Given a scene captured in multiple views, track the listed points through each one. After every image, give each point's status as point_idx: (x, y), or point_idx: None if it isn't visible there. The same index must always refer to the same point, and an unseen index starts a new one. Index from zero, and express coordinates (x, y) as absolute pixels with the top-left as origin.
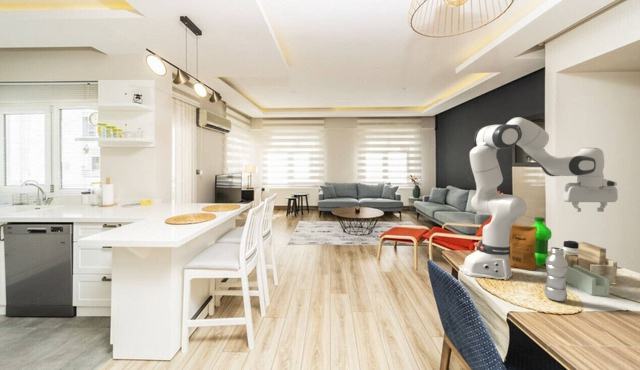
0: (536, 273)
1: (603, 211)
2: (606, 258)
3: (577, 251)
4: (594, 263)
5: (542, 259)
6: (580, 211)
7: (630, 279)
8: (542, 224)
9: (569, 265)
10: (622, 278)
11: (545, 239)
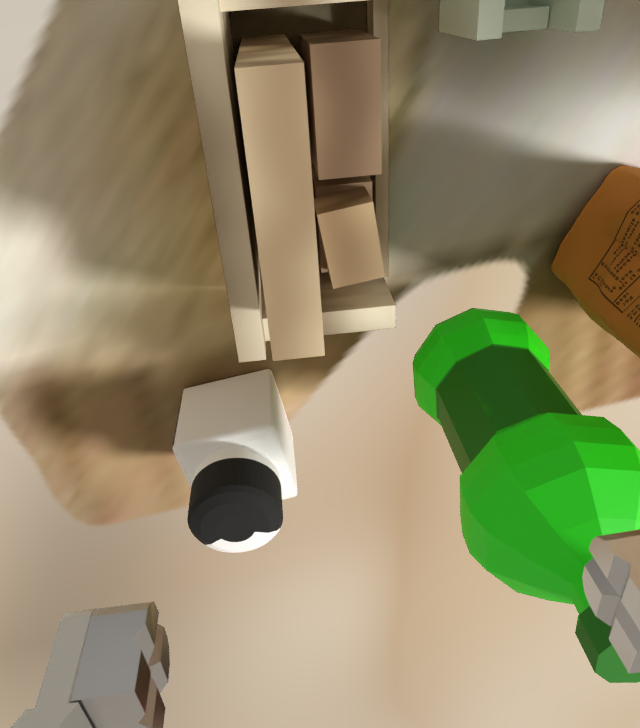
0: (636, 111)
1: (72, 613)
2: (198, 113)
3: (212, 445)
4: (328, 51)
5: (494, 314)
6: (604, 535)
7: (16, 149)
8: None
9: None
10: (64, 158)
11: (541, 415)
